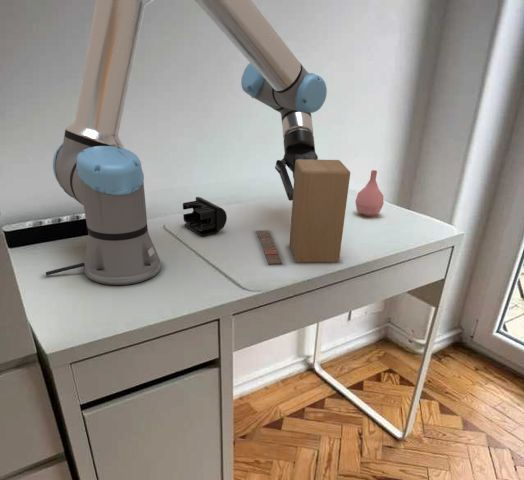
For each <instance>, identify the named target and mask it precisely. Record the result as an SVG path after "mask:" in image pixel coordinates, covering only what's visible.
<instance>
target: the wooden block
mask: <svg viewBox="0 0 524 480" xmlns="http://www.w3.org/2000/svg"><path fill="white" fill-rule="evenodd" d="M350 179H351V171H350V170H349V168H347V166H346V165H345V164H344V163H343V162H342V161H341V160H340V159H319V160H310V159H297V160H296V161H295V173H294V178H293V186H292V187H293V200H292V201H291V202H292V204H291V206H292V207H291V217H290V218H291V219H290V232H289V233H290V234H289V248H290V250H291V253H292V256H293V258H294V261H295V263H339V262H340V256H341V249H342V241H343V240H342V239H343V233H344V225H345V217H346V210H347V204H348V203H347V202H348V194H349V187H350Z"/></svg>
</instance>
